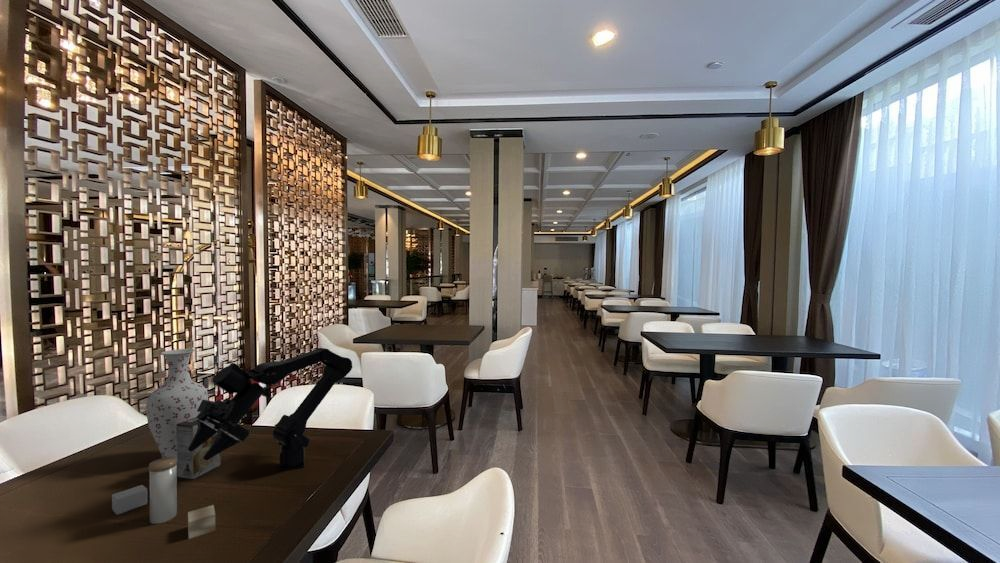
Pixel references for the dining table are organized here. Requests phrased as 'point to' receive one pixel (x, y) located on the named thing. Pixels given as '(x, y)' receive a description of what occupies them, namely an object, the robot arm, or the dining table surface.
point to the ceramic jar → (163, 489)
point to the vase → (174, 402)
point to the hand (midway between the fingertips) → (196, 455)
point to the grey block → (129, 499)
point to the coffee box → (193, 452)
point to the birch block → (201, 521)
